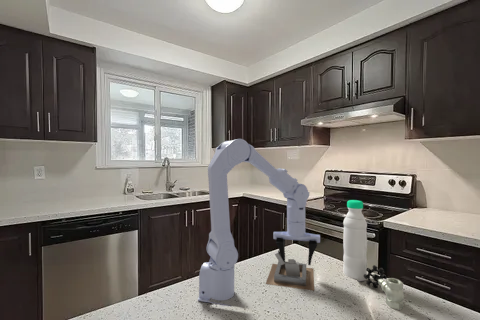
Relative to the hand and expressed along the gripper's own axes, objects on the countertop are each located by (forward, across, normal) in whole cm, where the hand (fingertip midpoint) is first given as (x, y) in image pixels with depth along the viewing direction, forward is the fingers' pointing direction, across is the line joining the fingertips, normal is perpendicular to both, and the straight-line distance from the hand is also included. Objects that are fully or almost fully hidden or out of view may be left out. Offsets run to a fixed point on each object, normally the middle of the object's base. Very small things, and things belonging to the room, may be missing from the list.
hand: (296, 262), depth 80 cm
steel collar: (+4, +2, 0) cm, 5 cm away
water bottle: (+6, -18, -7) cm, 20 cm away
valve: (+6, -24, +4) cm, 26 cm away
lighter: (+4, +2, +1) cm, 5 cm away
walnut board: (+5, +2, 0) cm, 6 cm away
